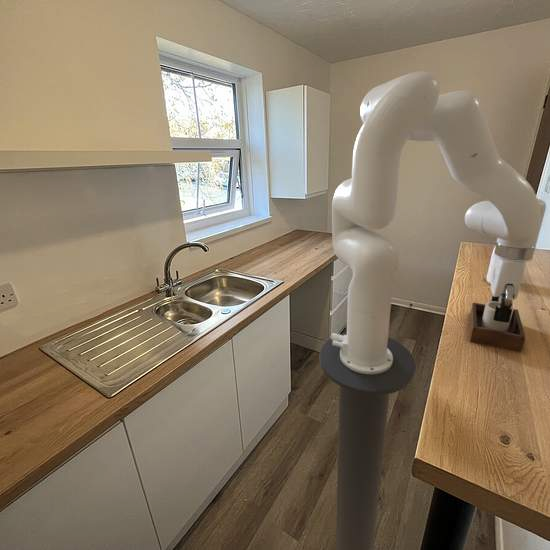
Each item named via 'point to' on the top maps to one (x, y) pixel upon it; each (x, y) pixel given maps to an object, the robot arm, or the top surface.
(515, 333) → the wooden box
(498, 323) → the cream pot
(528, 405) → the top surface
